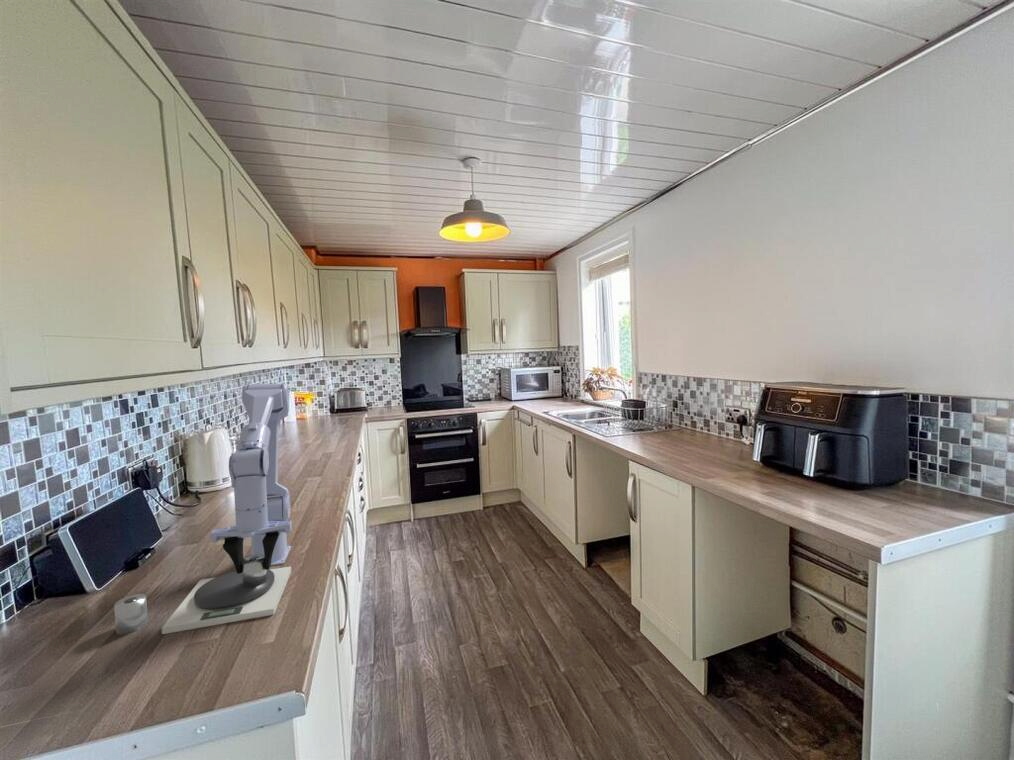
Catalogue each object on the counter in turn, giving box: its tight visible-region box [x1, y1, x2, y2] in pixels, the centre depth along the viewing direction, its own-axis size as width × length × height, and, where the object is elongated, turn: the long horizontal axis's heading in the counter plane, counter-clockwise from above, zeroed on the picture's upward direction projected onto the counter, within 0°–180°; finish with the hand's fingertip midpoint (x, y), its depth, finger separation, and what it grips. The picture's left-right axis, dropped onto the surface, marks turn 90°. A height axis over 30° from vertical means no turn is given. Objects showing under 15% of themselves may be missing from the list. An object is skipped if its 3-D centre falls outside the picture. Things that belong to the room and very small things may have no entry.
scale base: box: [161, 566, 292, 635], centre depth 85 cm, size 17×18×2 cm
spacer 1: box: [113, 593, 149, 635], centre depth 77 cm, size 4×4×5 cm
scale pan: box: [194, 568, 275, 609], centre depth 86 cm, size 14×14×1 cm
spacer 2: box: [242, 554, 267, 588], centre depth 87 cm, size 4×4×5 cm
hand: (254, 569), depth 87 cm, fingers open, 4 cm apart
